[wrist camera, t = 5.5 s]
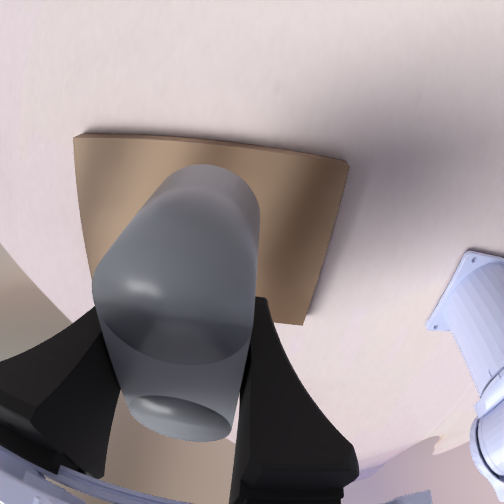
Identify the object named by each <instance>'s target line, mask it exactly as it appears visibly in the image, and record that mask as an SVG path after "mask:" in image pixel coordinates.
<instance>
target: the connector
mask: <svg viewBox="0 0 504 504" xmlns="http://www.w3.org/2000/svg"><path fill="white" fill-rule="evenodd" d="M260 219H261V217H260V208H259V204H258V201H257V198H256V197H255V195H254V193H253V191H252V190H251V188H250V187H249V186H248V185H247V184H246V182H245V181H244V180H242V179H241V178H240V177H239V176H237V175H236V174H234V173H233V172H231V171H229V170H227V169H225V168H221V167H218V166H214V165H206V164H199V165H191V166H187V167H184V168H181V169H179V170H177V171H175V172H174V173H172V174H171V175H170V176H168V177H167V178H166V179H165V180H164V181H163V183H162V184H161V185H160V186H159V187H158V188H157V190H156V191H155V192H154V193H153V194H152V195H151V197H150V198H149V199H148V200H147V201H146V203H145V204H144V205H143V206H142V208H141V209H140V210H139V211H138V212H137V214H136V215H135V216H134V217H133V219H132V220H131V221H130V222H129V224H128V225H127V226H126V228H125V229H124V230H123V231H122V233H121V234H120V235H119V237H118V238H117V239H116V241H115V242H114V243H113V245H112V246H111V247H110V249H109V250H108V251H107V253H106V254H105V255H104V257H103V258H102V259H101V261H100V262H99V264H98V266H97V267H96V269H95V272H94V275H93V280H92V294H93V299H94V304H95V307H96V311H97V315H98V319H99V322H100V326H101V330H102V333H103V336H104V340H105V343H106V346H107V350H108V353H109V356H110V359H111V362H112V365H113V368H114V371H115V374H116V377H117V379H118V382H119V385H120V388H121V390H122V393H123V396H124V398H125V401H126V403H127V406H128V408H129V411H130V413H131V414H132V416H133V417H134V418H135V419H136V420H137V421H138V422H140V423H141V424H142V425H144V426H146V427H147V428H149V429H151V430H153V431H155V432H157V433H160V434H162V435H165V436H168V437H171V438H175V439H179V440H185V441H194V442H208V441H216V440H219V439H222V438H224V437H226V436H228V435H229V434H230V432H231V429H232V425H233V420H234V415H235V411H236V406H237V401H238V397H239V392H240V387H241V382H242V377H243V373H244V368H245V363H246V358H247V353H248V349H249V344H250V339H251V334H252V329H253V321H254V308H255V293H256V279H257V264H258V249H259V234H260Z"/></svg>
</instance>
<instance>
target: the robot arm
mask: <svg viewBox="0 0 504 504" xmlns="http://www.w3.org/2000/svg"><path fill="white" fill-rule="evenodd" d="M425 326H426V329H427V330H431V331H451V332H452V334H453V336H454V338H455V340H456V342H457V344H458V347H459V349H460V351H461V353H462V355H463V358H464V360H465V362H466V364H467V367H468V369H469V371H470V374H471V376H472V378H473V381H474V383H475V386H476V388H477V391H478V393H479V396H480V400H479V401H478V402H477V403H476V404H475V405H474V408H475V411H476V414H477V417H476V418H475V419H474V421H473V423H472V426H471V429H470V451H471V455H472V459H473V461H474V463H475V465H476V467H477V468H478V470H479V471H480V473H481V474H482V475H484V476H485V477H486V478H487V479H488V480H489V481H490V483H491V484H492V486H493V488H494V489H495V491H496V494H497V496H498V499H499V501H501V502H504V258H502V257H498V256H493V255H489V254H484V253H480V252H475V251H467V252H466V253H465V254H464V255H463V257H462V260H461V262H460V264H459V266H458V268H457V270H456V272H455V273H454V275H453V277H452V279H451V281H450V283H449V285H448V287H447V289H446V290H445V292H444V294H443V296H442V298H441V299H440V301H439V303H438V305H437V306H436V308H435V310H434V311H433V313H432V315H431V316H430V318H429V320H428V321H427V323H426V325H425ZM120 390H121V388H120V385H119V382H118V379H117V377H116V374H115V371H114V368H113V365H112V362H111V359H110V356H109V353H108V350H107V346H106V343H105V340H104V336H103V333H102V330H101V326H100V322H99V319H98V315H97V311H96V307H95V306H94V307H93V308H92V309H91V310H89V311H88V312H87V313H86V314H84V315H83V316H82V317H80V318H79V319H78V320H77V321H75V322H74V323H73V324H71V325H70V326H68V327H67V328H66V329H64V330H63V331H61V332H60V333H58V334H56V335H55V336H53V337H52V338H50V339H48V340H46V341H44V342H43V343H41V344H39V345H37V346H35V347H34V348H32V349H29V350H28V351H26V352H23V353H21V354H19V355H16V356H14V357H12V358H9V359H6V360H4V361H1V362H0V503H1V504H86V503H85V501H84V500H82V499H80V498H78V497H76V496H74V495H72V494H70V493H69V492H67V491H66V490H65V489H63V488H61V487H59V486H57V485H55V484H53V483H51V482H49V481H47V480H46V479H45V477H44V476H46V477H48V478H50V479H52V480H54V481H56V482H59V483H61V484H63V485H65V486H68V487H70V488H72V489H75V490H77V491H80V492H82V493H85V494H88V495H90V496H93V497H96V498H98V499H101V500H104V501H107V502H110V503H113V504H192V503H187V502H181V501H176V500H171V499H166V498H161V497H157V496H153V495H149V494H145V493H141V492H137V491H133V490H130V489H126V488H123V487H120V486H116V485H113V484H110V483H107V482H104V481H101V480H98V479H99V478H102V477H103V476H104V471H105V461H106V454H107V447H108V442H109V436H110V431H111V426H112V421H113V417H114V412H115V408H116V404H117V401H118V397H119V393H120ZM43 475H44V476H43ZM358 476H359V465H358V461H357V457H356V453H355V450H354V447H353V445H352V444H351V443H350V442H349V441H348V440H347V439H346V438H345V437H344V436H343V435H342V434H341V433H340V432H339V431H338V430H337V429H336V428H335V427H334V426H333V425H332V423H331V422H330V421H329V420H328V419H327V418H326V416H325V415H324V414H323V413H322V411H321V410H320V409H319V407H318V406H317V405H316V403H315V402H314V401H313V399H312V398H311V397H310V395H309V394H308V392H307V391H306V389H305V388H304V386H303V385H302V383H301V381H300V380H299V378H298V376H297V374H296V373H295V371H294V369H293V367H292V365H291V363H290V361H289V359H288V357H287V355H286V353H285V351H284V349H283V346H282V344H281V342H280V339H279V337H278V334H277V332H276V329H275V326H274V323H273V320H272V317H271V313H270V310H269V305H268V300H267V299H266V298H265V297H257V296H255V308H254V321H253V329H252V334H251V339H250V344H249V349H248V353H247V358H246V363H245V368H244V373H243V377H242V382H241V387H240V407H239V421H238V430H237V439H236V448H235V458H234V466H233V474H232V482H231V490H230V498H229V504H341V498H343V497H344V492H343V487H345V486H346V485H348V484H349V483H351V482H353V481H354V480H355V479H356V478H357V477H358ZM381 504H432V498H431V492H430V490H425V491H421V492H417V493H412V494H408V495H404V496H400V497H397V498H394V499H392V500H390V501H389V502H387V503H381Z"/></svg>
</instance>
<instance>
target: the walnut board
mask: <svg viewBox="0 0 504 504" xmlns="http://www.w3.org/2000/svg"><path fill="white" fill-rule="evenodd" d="M73 144H74V160H75V173H76V184H77V193H78V201H79V209H80V217H81V223H82V230H83V236H84V242H85V248H86V253H87V258H88V263H89V268H90V273H91V278H92V280H93V275H94V272H95V269H96V267H97V266H98V264H99V262H100V261H101V259H102V258H103V257H104V255H105V254H106V253H107V251H108V250H109V249H110V247H111V246H112V245H113V243H114V242H115V241H116V239H117V238H118V237H119V235H120V234H121V233H122V231H123V230H124V229H125V228H126V226H127V225H128V224H129V222H130V221H131V220H132V219H133V217H134V216H135V215H136V214H137V212H138V211H139V210H140V209H141V208H142V206H143V205H144V204H145V203H146V201H147V200H148V199H149V198H150V197H151V195H152V194H153V193H154V192H155V191H156V190H157V188H158V187H159V186H160V185H161V184H162V183H163V181H164V180H165V179H166V178H167V177H168V176H170V175H171V174H172V173H174V172H175V171H177V170H179V169H181V168H184V167H187V166H191V165H199V164H206V165H214V166H218V167H221V168H225V169H227V170H229V171H231V172H233V173H234V174H236V175H237V176H239V177H240V178H241V179H242V180H244V181H245V182H246V184H247V185H248V186H249V187H250V188H251V190H252V191H253V193H254V195H255V197H256V198H257V201H258V204H259V208H260V217H261V219H260V234H259V249H258V264H257V279H256V293H255V296H257V297H265V298H266V299H267V300H268V305H269V310H270V313H271V317H272V320H273V322H275V323H284V324H293V325H302V326H303V323H304V320H305V317H306V314H307V311H308V308H309V305H310V302H311V299H312V296H313V293H314V290H315V287H316V284H317V281H318V277H319V274H320V271H321V268H322V264H323V261H324V258H325V255H326V251H327V248H328V244H329V241H330V238H331V234H332V231H333V227H334V224H335V220H336V216H337V213H338V209H339V206H340V202H341V198H342V194H343V191H344V187H345V183H346V179H347V175H348V171H349V167H350V166H349V165H348V163H347V162H346V161H344V160H339V159H334V158H329V157H324V156H319V155H313V154H308V153H302V152H296V151H290V150H284V149H278V148H271V147H265V146H258V145H250V144H242V143H234V142H226V141H217V140H207V139H196V138H184V137H171V136H154V135H132V134H80V135H78V136H76V137H74V138H73Z"/></svg>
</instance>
